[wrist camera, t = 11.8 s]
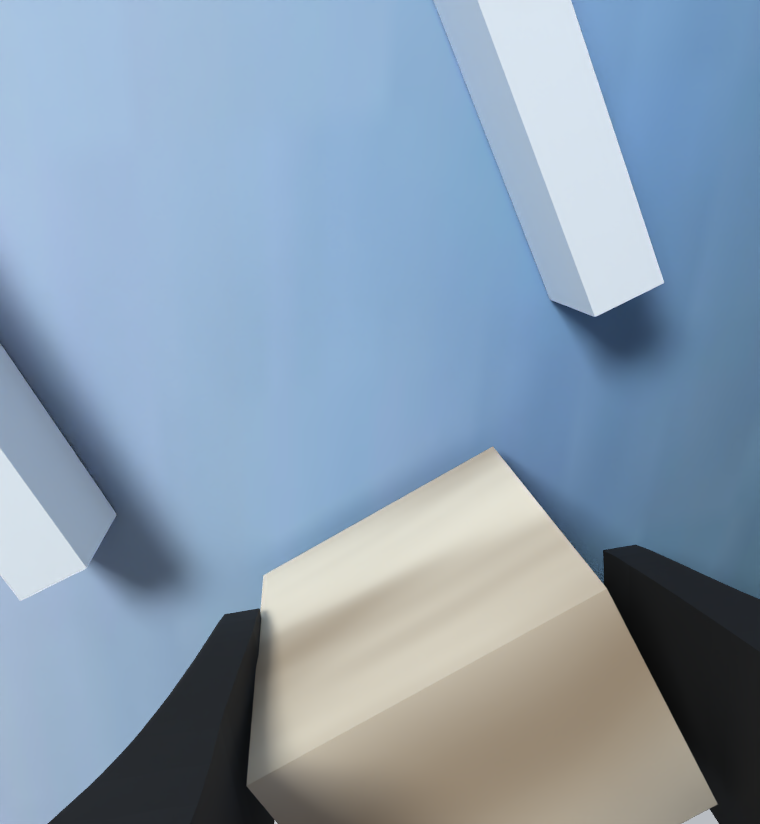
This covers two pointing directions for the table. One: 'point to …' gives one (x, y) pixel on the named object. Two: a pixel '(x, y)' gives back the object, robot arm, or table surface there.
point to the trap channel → (532, 199)
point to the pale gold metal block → (458, 675)
